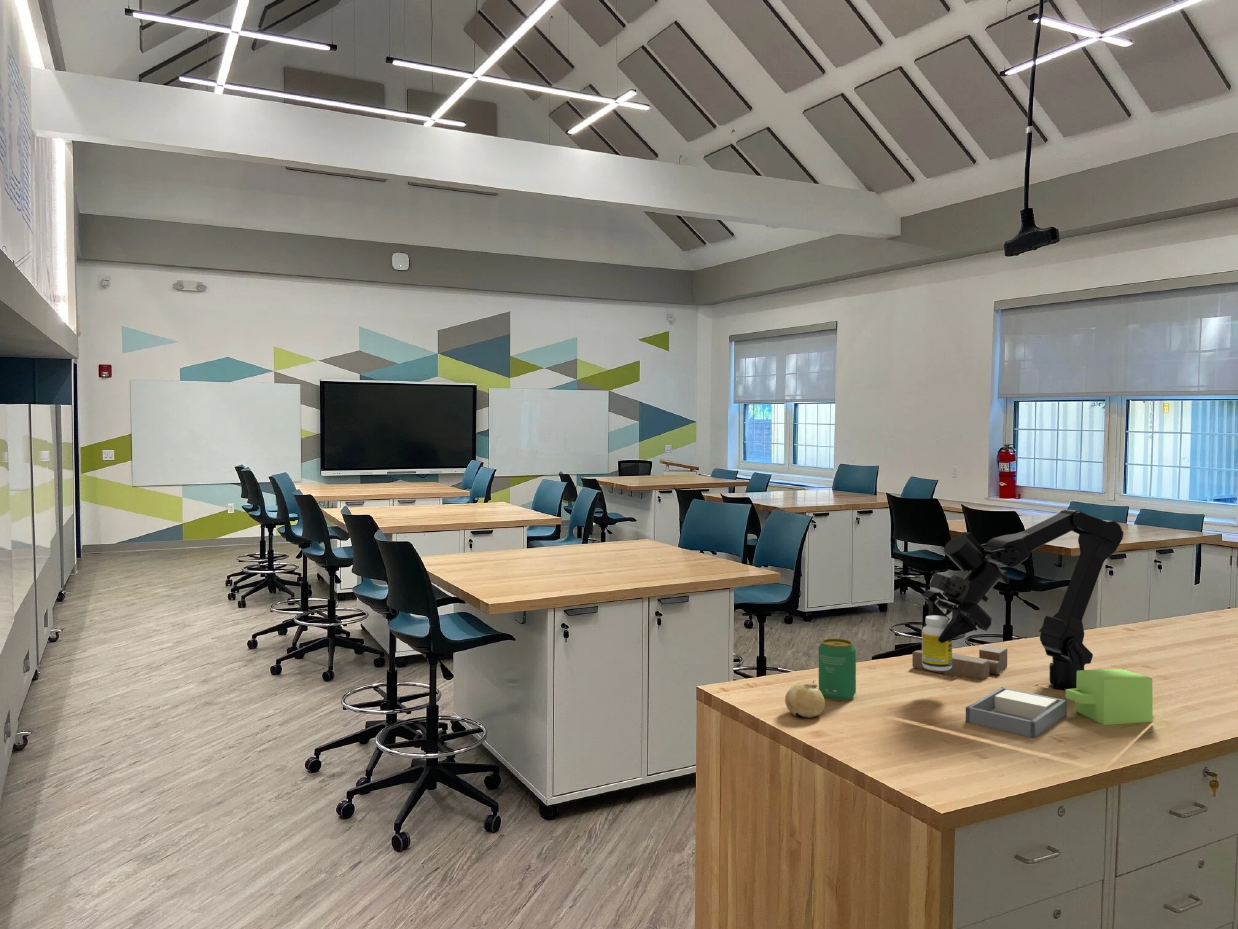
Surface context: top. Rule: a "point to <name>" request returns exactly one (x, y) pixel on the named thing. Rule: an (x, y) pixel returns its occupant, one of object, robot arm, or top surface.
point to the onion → (805, 700)
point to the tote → (1013, 716)
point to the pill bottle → (936, 645)
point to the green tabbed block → (1113, 696)
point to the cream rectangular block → (1022, 704)
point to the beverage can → (837, 669)
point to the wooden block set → (971, 663)
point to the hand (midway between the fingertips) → (931, 638)
